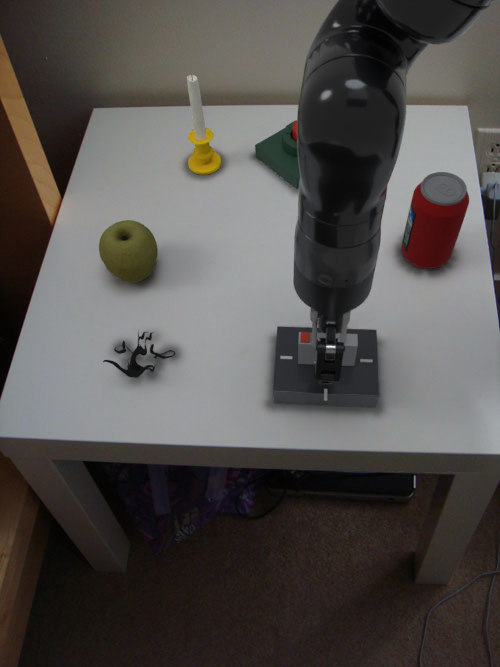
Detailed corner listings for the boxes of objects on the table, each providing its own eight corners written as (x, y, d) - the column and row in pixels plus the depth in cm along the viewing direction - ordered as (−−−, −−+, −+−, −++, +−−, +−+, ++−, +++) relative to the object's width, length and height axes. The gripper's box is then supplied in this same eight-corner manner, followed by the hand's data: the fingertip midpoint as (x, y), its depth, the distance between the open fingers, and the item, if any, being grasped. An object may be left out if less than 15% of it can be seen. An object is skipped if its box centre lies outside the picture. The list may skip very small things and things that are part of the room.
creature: (123, 338, 78) (102, 384, 73) (116, 308, 75) (93, 353, 69) (181, 345, 77) (164, 391, 72) (177, 314, 74) (158, 361, 68)
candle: (223, 152, 95) (212, 62, 82) (219, 175, 93) (207, 85, 80) (191, 152, 96) (175, 62, 83) (186, 174, 93) (169, 85, 80)
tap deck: (373, 337, 75) (376, 322, 72) (376, 414, 69) (379, 402, 67) (277, 333, 76) (277, 319, 73) (273, 409, 70) (272, 397, 68)
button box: (312, 122, 98) (313, 101, 95) (355, 153, 94) (357, 132, 90) (255, 156, 95) (254, 135, 91) (296, 189, 90) (297, 168, 87)
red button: (306, 123, 93) (306, 114, 91) (324, 136, 91) (324, 126, 89) (286, 135, 91) (286, 125, 90) (304, 148, 90) (304, 138, 88)
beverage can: (420, 227, 84) (437, 160, 74) (460, 251, 82) (484, 185, 72) (390, 254, 82) (403, 188, 72) (430, 280, 79) (450, 216, 69)
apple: (154, 241, 86) (144, 205, 80) (169, 282, 82) (160, 247, 76) (102, 257, 85) (88, 222, 79) (115, 299, 81) (101, 265, 75)
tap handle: (354, 354, 70) (357, 332, 66) (354, 366, 69) (358, 344, 65) (298, 352, 71) (299, 330, 67) (298, 364, 70) (298, 342, 66)
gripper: (380, 319, 50) (359, 405, 64) (374, 197, 58) (357, 297, 71) (290, 315, 51) (289, 401, 64) (296, 195, 58) (294, 295, 72)
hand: (325, 346), depth 68 cm, fingers open, 8 cm apart
